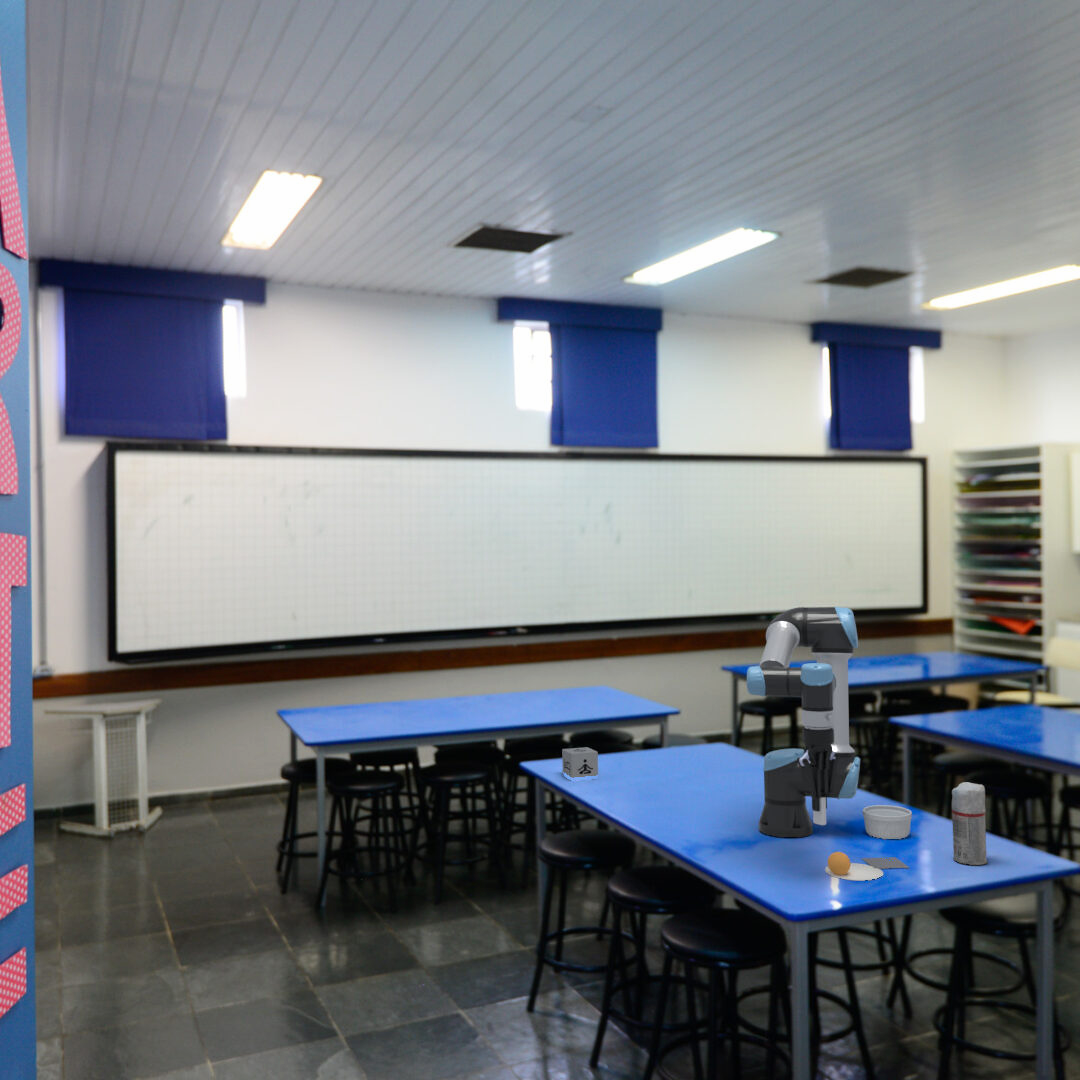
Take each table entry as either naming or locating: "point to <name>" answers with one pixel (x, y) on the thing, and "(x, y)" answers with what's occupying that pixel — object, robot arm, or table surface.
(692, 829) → the table surface
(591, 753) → the icon cube
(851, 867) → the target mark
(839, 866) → the ball
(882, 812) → the ramekin
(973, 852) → the spray can
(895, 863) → the far mark
